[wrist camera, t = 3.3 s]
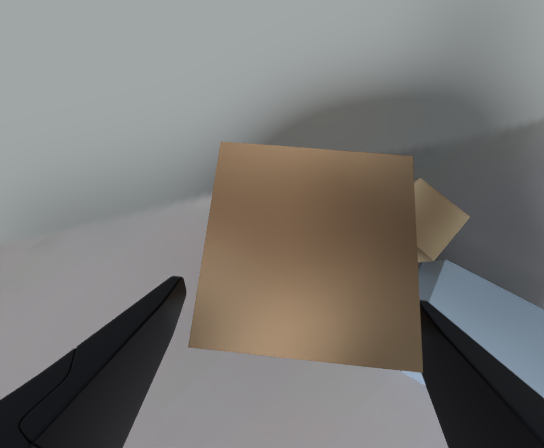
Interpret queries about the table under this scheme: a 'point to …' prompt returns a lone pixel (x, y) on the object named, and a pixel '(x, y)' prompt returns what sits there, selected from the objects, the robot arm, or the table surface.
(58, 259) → the table surface
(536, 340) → the base slab
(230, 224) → the walnut block
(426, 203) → the cube
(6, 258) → the table surface
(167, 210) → the table surface
